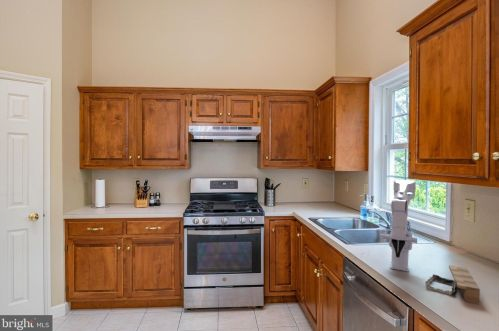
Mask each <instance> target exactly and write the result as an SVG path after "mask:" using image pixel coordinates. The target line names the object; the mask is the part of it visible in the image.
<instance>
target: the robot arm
mask: <svg viewBox="0 0 499 331" xmlns="http://www.w3.org/2000/svg"><path fill="white" fill-rule="evenodd" d="M416 184H417V183H416V181H415V180H402V179H394V181H393V195H394V199H393V200H391V203H390V209H391V230H390V232H389V233H380V240H388V246H389V248H391V261H390V264H389V265H390V267H389V268H390V269H391V270H392V269H393V270H398V271H402V272H410V265H409V256H410V255H409V252H410V251H411V250H412V249H413V243H414V244H418V238H417V237H413V234H412V233H411V231H409V230H408V229H407V228H408V213H409V205H410V202H411V200H413V199H414V198H415V196H416V188H417V187H416V186H417V185H416Z"/></svg>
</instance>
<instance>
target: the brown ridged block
mask: <svg viewBox="0 0 499 331" xmlns="http://www.w3.org/2000/svg"><path fill="white" fill-rule="evenodd" d="M448 269H449V270H450V274H451V275H452V278H453V280H454V281H455V285H456V286H457V288H458V289H459V290H460V292H461V294H462V296H463V299H464V300H465V302H466V303H472V304H478V305H479V304H480V294H481V292H480V291H481V289H480V287H479V286H478V284H477V282H476V280H475V279H474V277H473V275H472V274H471V273H470V271H469V269H468V268H467V267H462V266H457V265H456V266H455V265H450V264H449V265H448Z"/></svg>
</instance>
